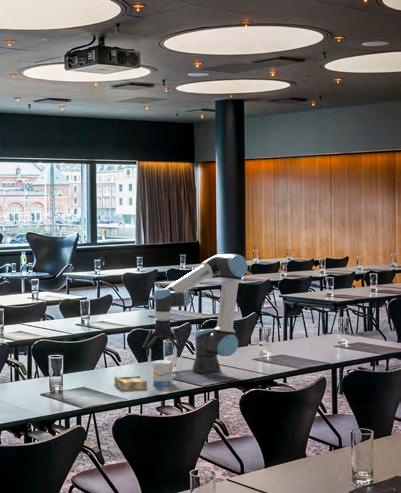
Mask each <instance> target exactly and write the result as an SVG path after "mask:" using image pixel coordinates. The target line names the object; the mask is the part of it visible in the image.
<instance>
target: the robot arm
mask: <svg viewBox="0 0 401 493" xmlns="http://www.w3.org/2000/svg"><path fill="white" fill-rule="evenodd" d="M248 269H249V268H248V262H247V260H246V258H245V257H244V256H242V255H240V254H237V253H217V254H215V255H213V256H211V257H209V258H207V259H206V260H204V261H202V262H201V263H200V265H199V266H198V267H196V268H195V269H193V270H192V271H190V272H188V273H187V274H185V275H184V276H182V277H181V278H179V279H178V280H175V281H174V282H173V283H171V284H169V285H168V286H167V287H166V286H165V288H157V289H156V290H155V291H154V292H153V295H152V299H153V301H154V302H155V309H154V310H155V316H154V317H155V322H154V323H155V326H154V327H155V328H154V329H148V334H147V336H146V338H145V341H144V342H143V344H142V348H144V349H145V354H146V356H147V362H148V363H151V362H152V349H151V348H152V346H153V345H154V344H155V343H156V342H157V340H158V339H168V340H169V341H170V342H171V344H172V345H174V347H173V362H174V361H175V362H177V361H178V355H179V353H180V352H179V351H180V349H179V348H181V347H183V343H182V342H181V339H180V337H179V334H178V333H177V328H174V327H173V328H171V320H170V319H171V308H177V307H179V308H181V307H187V306H189V304H191V295H190V293H189V292H188V291H190V289H192V288H195V286H197V285H198V284H200V283H203V281H205V280H206V279H212V278H213V277H215V276H219V279H220V280H221V290H220V298H219V306H218V313H217V314H218V315H217V322H216V326H215V327H214V328H205V329H198V330H196V332H195V359H194V362H193V364H192V372H193V373H195V374H202V375H203V374H205V375H206V374H218V373H220V372H221V365H220V361H219V359H218V356H221V357H230V356H232V355H233V354H235V353H236V352H237V350H238V346H239V339H238V337H237V336H236V331H235V329H234V321H235V313H236V304H237V295H238V290H239V283H240V282H242V280H243V276H245V275H246V273H248ZM154 333H155V335H154V336H153V338H152V335H153V334H154ZM171 333H172V334H173V337H174V338H175V340H176V341H175V340H174V339H173V337H172V336H171ZM151 338H152V339H151Z"/></svg>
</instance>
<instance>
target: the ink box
mask: <svg viewBox="0 0 401 493" xmlns="http://www.w3.org/2000/svg"><path fill="white" fill-rule="evenodd" d="M173 362H174V360H162V359H161V360H156V361H155V362H153V364H152V365H153V366H152V367H153V374H152V375H153V380H152V381H153V382H152V383H153V384H152V385H153V387H170V386H172V384H174V367H173V366H174V364H173Z"/></svg>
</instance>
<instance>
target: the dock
mask: <svg viewBox="0 0 401 493" xmlns="http://www.w3.org/2000/svg"><path fill="white" fill-rule="evenodd" d="M147 382H148V381H147V380H144V379H142V378H141V376H140V375H135V376H132V375H131V376H121V377H120V376H119V377H118V375H114V387H116V388H117V389H118V390H120V391H121V392H122V391H132V390H134V391H136V390H146V389H147V388H148V383H147Z"/></svg>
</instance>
